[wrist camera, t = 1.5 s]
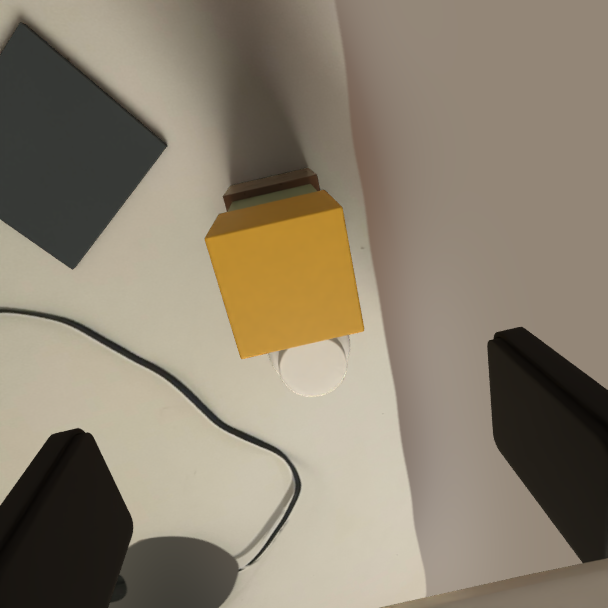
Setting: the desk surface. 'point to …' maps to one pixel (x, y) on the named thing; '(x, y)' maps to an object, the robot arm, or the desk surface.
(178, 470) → the desk surface
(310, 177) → the bottom block
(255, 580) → the desk surface
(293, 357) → the pill bottle
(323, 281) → the top block
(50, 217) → the felt mat
